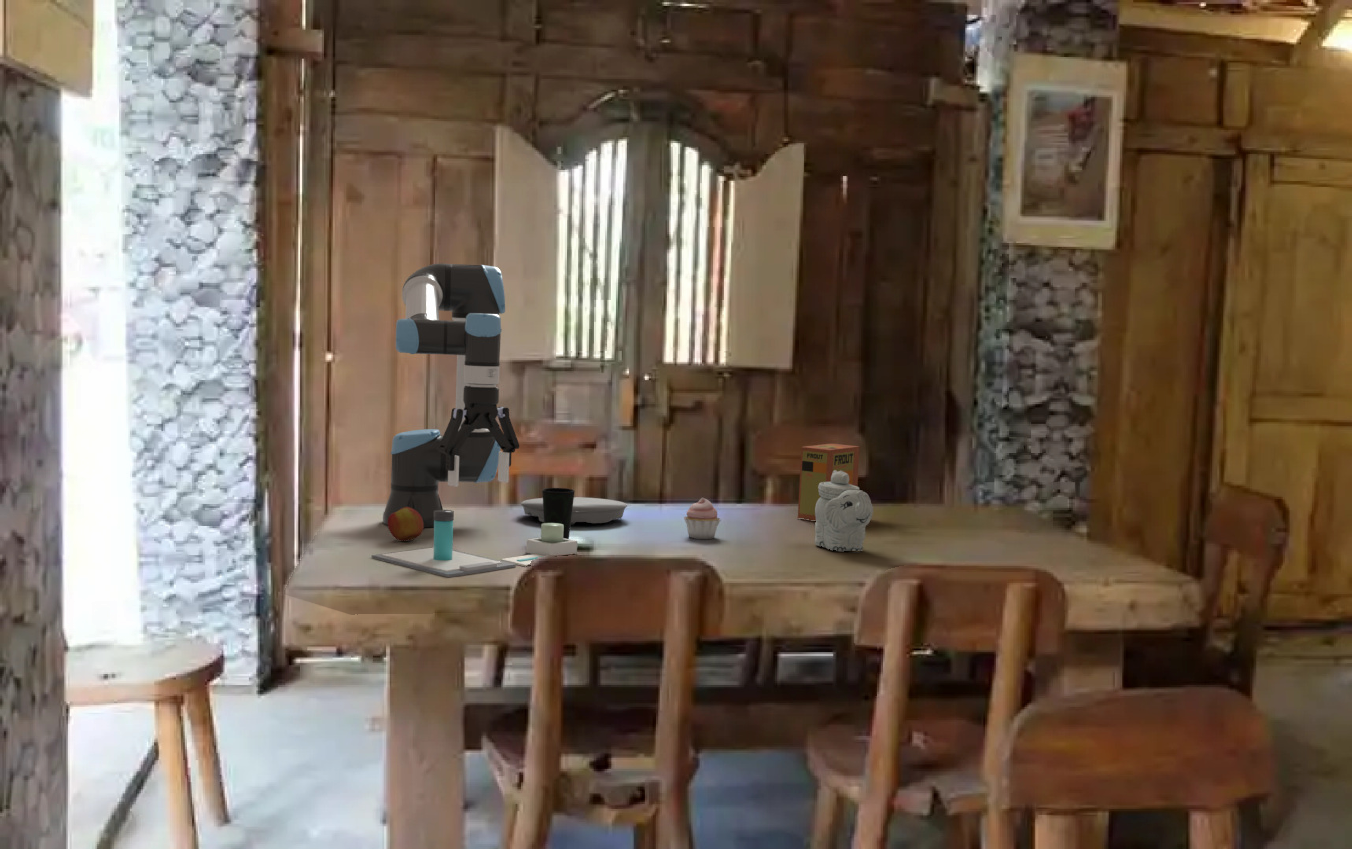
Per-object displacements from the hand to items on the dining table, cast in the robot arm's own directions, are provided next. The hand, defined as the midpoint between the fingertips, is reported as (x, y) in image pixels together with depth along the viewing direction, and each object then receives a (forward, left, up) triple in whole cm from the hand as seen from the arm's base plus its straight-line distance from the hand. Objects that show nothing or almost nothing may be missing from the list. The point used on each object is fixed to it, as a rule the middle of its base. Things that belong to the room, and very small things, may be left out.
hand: (478, 483), depth 287 cm
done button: (+4, +18, -14) cm, 23 cm away
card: (+8, +8, -17) cm, 20 cm away
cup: (-8, +31, -17) cm, 36 cm away
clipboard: (-2, -8, -17) cm, 18 cm away
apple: (-27, +1, -17) cm, 32 cm away
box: (+10, +117, -17) cm, 119 cm away
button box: (+4, +18, -17) cm, 25 cm away
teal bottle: (-2, -8, -16) cm, 18 cm away
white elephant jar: (+42, +78, -17) cm, 91 cm away
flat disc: (-28, +56, -17) cm, 65 cm away
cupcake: (+10, +63, -17) cm, 66 cm away
